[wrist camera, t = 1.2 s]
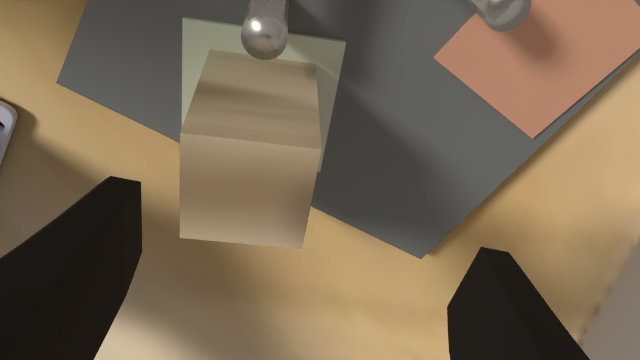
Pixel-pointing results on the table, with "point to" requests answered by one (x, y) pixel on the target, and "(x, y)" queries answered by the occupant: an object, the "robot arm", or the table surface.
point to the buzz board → (377, 90)
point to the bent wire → (273, 7)
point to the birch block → (250, 151)
